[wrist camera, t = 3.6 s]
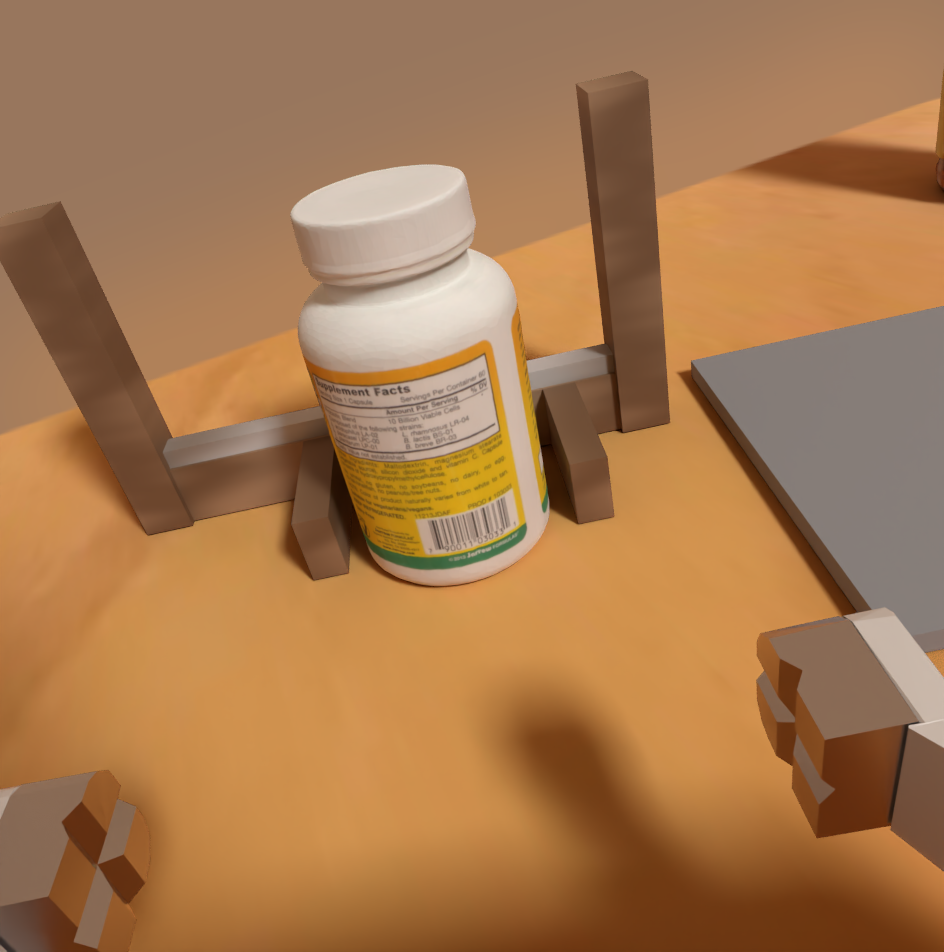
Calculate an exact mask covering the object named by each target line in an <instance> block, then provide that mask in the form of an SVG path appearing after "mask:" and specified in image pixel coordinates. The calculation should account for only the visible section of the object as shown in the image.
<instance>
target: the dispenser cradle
mask: <svg viewBox="0 0 944 952" xmlns="http://www.w3.org/2000/svg"><path fill="white" fill-rule="evenodd" d="M576 89H577V99H578V108H579V117H580V126H581V135H582V144H583V153H584V162H585V171H586V180H587V188H588V198H589V207H590V217H591V226H592V235H593V244H594V253H595V262H596V271H597V280H598V289H599V298H600V307H601V316H602V325H603V334H604V343H605V344H601V345H597V346H592V347H587V348H583V349H578V350H574V351H569V352H565V353H560V354H555V355H551V356H546V357H542V358H537V359H533V360H528V361H527V367H528V374H529V380H530V385H531V392H532V399H533V405H534V412H535V418H536V423H537V429H538V436H539V442H540V446H543V445H548V444H552V446H553V449H554V452H555V455H556V458H557V461H558V464H559V467H560V470H561V473H562V476H563V479H564V482H565V485H566V488H567V491H568V494H569V497H570V500H571V503H572V506H573V509H574V512H575V515H576V518H577V521H578V523H579V524H581V523H586V522H590V521H595V520H600V519H604V518H609V517H614V509H613V501H612V492H611V484H610V475H609V467H608V458H607V455H606V453H605V450H604V448H603V446H602V443H601V441H600V439H599V436H598V434H599V433H604V432H608V431H613V430H617V429H622V432H623V433H624V432H629V431H633V430H638V429H643V428H647V427H652V426H657V425H661V424H666V423H670V415H669V400H668V384H667V369H666V353H665V338H664V322H663V307H662V291H661V276H660V260H659V245H658V229H657V214H656V198H655V183H654V167H653V152H652V136H651V120H650V105H649V89H648V79H646V78H644V77H642V76H641V75H639V74H637V73H635V72H633V71H630V72H625V73H621V74H616V75H612V76H608V77H603V78H599V79H594V80H590V81H586V82H581V83H577V84H576ZM0 261H1V263H2V265H3V267H4V269H5V271H6V273H7V274H8V277H9V278H10V280H11V282H12V284H13V286H14V288H15V290H16V291H17V293H18V295H19V297H20V299H21V301H22V302H23V304H24V306H25V308H26V310H27V312H28V314H29V315H30V317H31V319H32V321H33V323H34V325H35V327H36V329H37V330H38V332H39V334H40V336H41V338H42V340H43V342H44V343H45V345H46V347H47V349H48V351H49V353H50V354H51V356H52V358H53V360H54V362H55V364H56V366H57V367H58V369H59V371H60V373H61V375H62V377H63V379H64V381H65V383H66V384H67V386H68V388H69V390H70V392H71V394H72V396H73V397H74V399H75V401H76V403H77V405H78V407H79V409H80V410H81V412H82V414H83V416H84V418H85V420H86V422H87V423H88V425H89V427H90V429H91V431H92V433H93V435H94V436H95V438H96V440H97V442H98V444H99V446H100V448H101V449H102V451H103V453H104V455H105V457H106V459H107V461H108V462H109V464H110V466H111V468H112V470H113V472H114V474H115V475H116V477H117V479H118V481H119V483H120V485H121V487H122V488H123V490H124V492H125V494H126V496H127V498H128V500H129V501H130V503H131V505H132V507H133V509H134V511H135V513H136V515H137V516H138V518H139V520H140V522H141V524H142V526H143V528H144V529H145V531H146V533H147V535H150V534H155V533H160V532H164V531H169V530H174V529H178V528H183V527H187V526H192V525H193V523H194V521H195V520H200V519H204V518H209V517H214V516H218V515H223V514H228V513H232V512H237V511H241V510H246V509H251V508H255V507H260V506H265V505H269V504H274V503H279V502H283V501H288V500H293V499H295V502H294V508H293V515H292V522H291V526H292V528H293V530H294V533H295V535H296V538H297V540H298V543H299V545H300V548H301V550H302V553H303V555H304V558H305V560H306V562H307V565H308V567H309V570H310V572H311V575H312V577H313V580H317V579H322V578H326V577H331V576H336V575H341V574H345V573H349V557H350V536H351V515H352V499H351V496H350V493H349V491H348V488H347V485H346V481H345V479H344V476H343V473H342V470H341V467H340V464H339V461H338V458H337V455H336V452H335V449H334V446H333V443H332V440H331V437H330V434H329V430H328V427H327V425H326V422H325V419H324V416H323V413H322V410H321V407H320V406H318V407H313V408H308V409H304V410H299V411H295V412H290V413H286V414H281V415H276V416H272V417H267V418H263V419H258V420H254V421H249V422H244V423H240V424H235V425H231V426H226V427H222V428H217V429H212V430H208V431H203V432H199V433H194V434H190V435H185V436H180V437H176V438H172V435H171V433H170V431H169V429H168V427H167V425H166V423H165V421H164V419H163V416H162V414H161V412H160V410H159V408H158V406H157V404H156V402H155V400H154V398H153V395H152V393H151V391H150V389H149V387H148V385H147V383H146V381H145V379H144V376H143V374H142V372H141V370H140V368H139V366H138V364H137V362H136V360H135V358H134V355H133V353H132V351H131V349H130V347H129V345H128V343H127V341H126V338H125V336H124V334H123V333H122V330H121V328H120V326H119V324H118V322H117V320H116V317H115V315H114V313H113V311H112V309H111V307H110V305H109V303H108V301H107V298H106V297H105V294H104V292H103V290H102V288H101V286H100V284H99V282H98V280H97V277H96V275H95V273H94V271H93V269H92V267H91V265H90V263H89V260H88V258H87V256H86V254H85V252H84V250H83V248H82V246H81V244H80V241H79V239H78V238H77V235H76V233H75V231H74V229H73V227H72V225H71V223H70V220H69V218H68V217H67V215H66V212H65V210H64V208H63V206H62V204H61V202H56V203H51V204H47V205H42V206H38V207H34V208H30V209H25V210H21V211H16V212H12V213H7V214H5V215H4V216H3V217H1V218H0Z"/></svg>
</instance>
